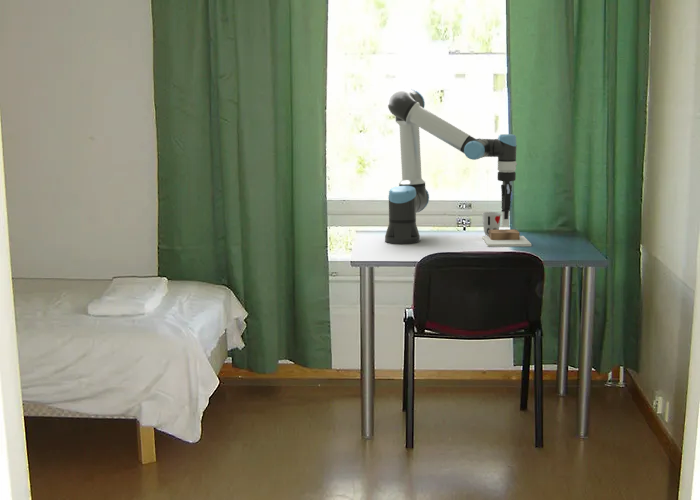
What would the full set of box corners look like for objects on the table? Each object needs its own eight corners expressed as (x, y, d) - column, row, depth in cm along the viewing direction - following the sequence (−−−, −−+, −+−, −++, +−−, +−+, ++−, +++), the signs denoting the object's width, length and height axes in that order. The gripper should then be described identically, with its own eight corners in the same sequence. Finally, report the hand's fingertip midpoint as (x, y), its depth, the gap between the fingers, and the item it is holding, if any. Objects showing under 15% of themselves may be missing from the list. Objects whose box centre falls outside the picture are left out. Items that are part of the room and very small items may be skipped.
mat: (487, 246, 355) (487, 244, 355) (482, 238, 375) (482, 236, 375) (531, 246, 355) (531, 243, 354) (523, 238, 374) (523, 235, 374)
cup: (484, 237, 378) (485, 214, 376) (479, 234, 386) (480, 212, 384) (502, 236, 379) (503, 214, 377) (497, 233, 387) (497, 211, 385)
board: (491, 233, 365) (488, 229, 374) (491, 239, 365) (488, 236, 374) (519, 232, 364) (516, 229, 373) (519, 239, 365) (516, 236, 374)
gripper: (518, 172, 355) (516, 228, 359) (513, 169, 367) (511, 224, 372) (499, 172, 355) (498, 228, 359) (495, 169, 368) (494, 224, 372)
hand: (505, 226), depth 365 cm, fingers closed
